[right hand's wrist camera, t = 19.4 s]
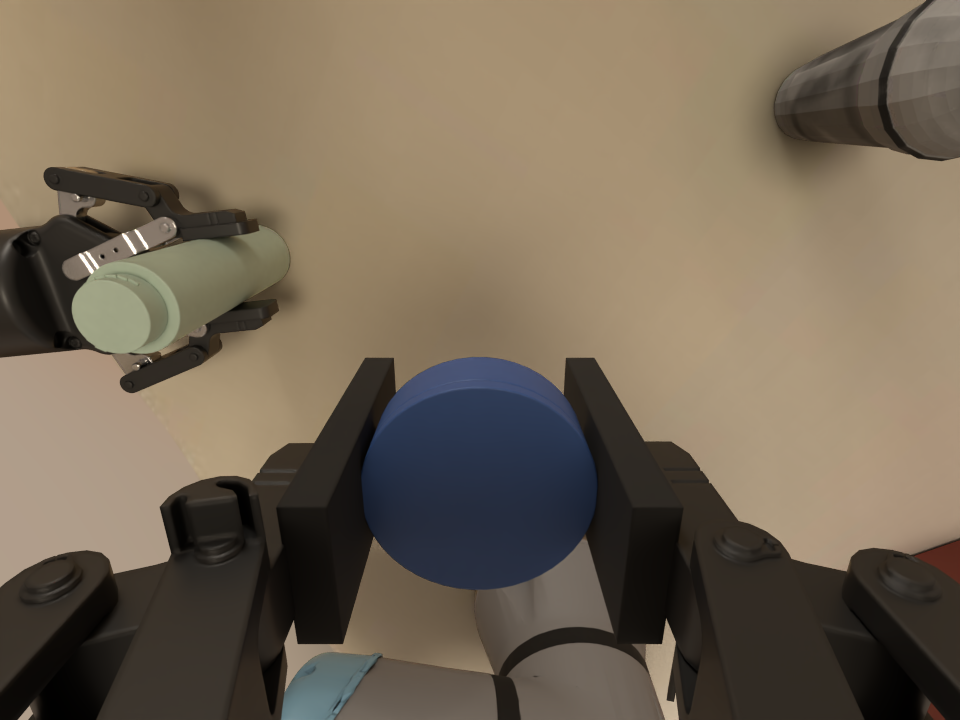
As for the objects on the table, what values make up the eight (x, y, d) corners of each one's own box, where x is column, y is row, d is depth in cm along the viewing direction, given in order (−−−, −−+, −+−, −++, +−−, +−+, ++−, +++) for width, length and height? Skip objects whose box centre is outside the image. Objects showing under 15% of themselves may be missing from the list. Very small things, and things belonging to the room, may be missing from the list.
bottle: (243, 212, 36) (75, 247, 21) (300, 245, 37) (176, 302, 22) (220, 265, 38) (45, 333, 23) (275, 296, 39) (142, 382, 23)
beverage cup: (763, 179, 36) (1080, 196, 17) (742, 65, 33) (1083, -63, 14) (874, 136, 35) (1340, 104, 16) (860, 16, 32) (1388, -189, 13)
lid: (435, 565, 13) (429, 619, 11) (335, 411, 11) (312, 448, 10) (613, 493, 12) (633, 541, 11) (531, 319, 11) (539, 345, 9)
